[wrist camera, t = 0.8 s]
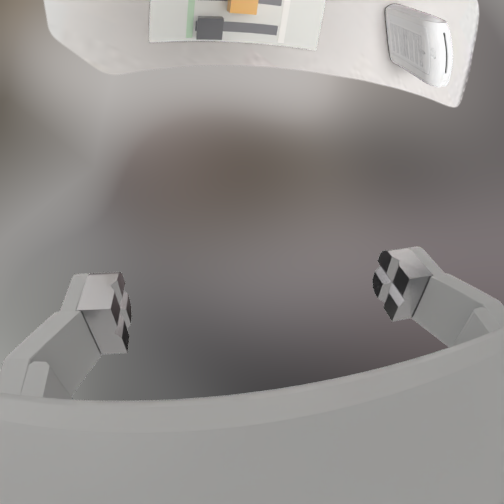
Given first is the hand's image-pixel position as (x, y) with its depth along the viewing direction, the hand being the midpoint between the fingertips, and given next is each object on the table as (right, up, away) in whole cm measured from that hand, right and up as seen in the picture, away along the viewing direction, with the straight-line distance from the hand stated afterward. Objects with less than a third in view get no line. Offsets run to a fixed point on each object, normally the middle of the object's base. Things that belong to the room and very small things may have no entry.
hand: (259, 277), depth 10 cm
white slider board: (-2, +33, +22) cm, 39 cm away
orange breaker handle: (-2, +32, +20) cm, 38 cm away
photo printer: (+21, +33, +27) cm, 48 cm away
